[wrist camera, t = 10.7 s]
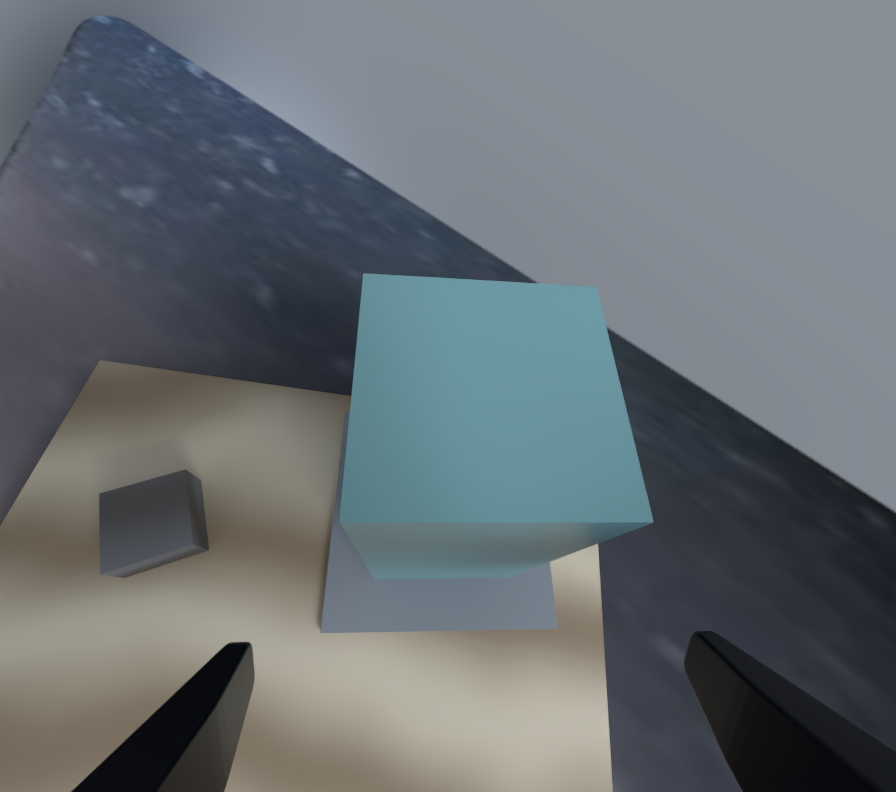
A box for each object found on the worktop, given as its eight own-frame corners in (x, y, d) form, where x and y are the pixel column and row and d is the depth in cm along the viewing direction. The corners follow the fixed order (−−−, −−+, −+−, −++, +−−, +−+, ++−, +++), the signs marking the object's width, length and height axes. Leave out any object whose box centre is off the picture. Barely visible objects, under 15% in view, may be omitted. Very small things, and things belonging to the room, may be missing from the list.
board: (598, 864, 15) (642, 917, 12) (-117, 791, 14) (-238, 832, 11) (579, 441, 22) (604, 417, 20) (118, 376, 21) (78, 341, 19)
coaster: (554, 628, 17) (557, 628, 16) (322, 632, 16) (320, 633, 15) (530, 421, 21) (532, 418, 21) (345, 415, 20) (345, 412, 20)
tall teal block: (509, 577, 17) (654, 522, 7) (374, 579, 17) (338, 522, 7) (498, 451, 20) (596, 287, 10) (381, 449, 19) (363, 273, 9)
